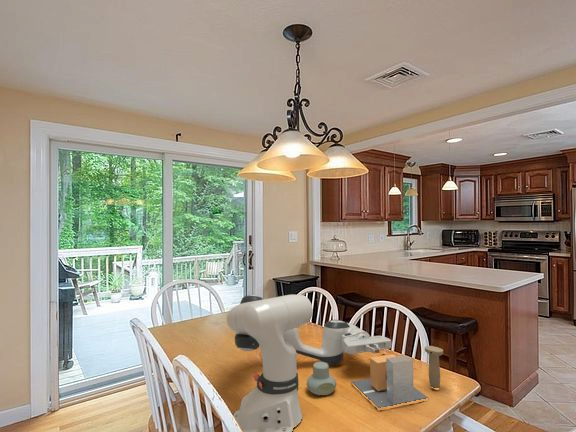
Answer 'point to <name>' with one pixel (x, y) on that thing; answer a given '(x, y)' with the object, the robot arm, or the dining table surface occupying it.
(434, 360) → the handle
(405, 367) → the grey block with rod
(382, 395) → the base board
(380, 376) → the orange block
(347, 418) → the dining table surface
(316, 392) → the air freshener
